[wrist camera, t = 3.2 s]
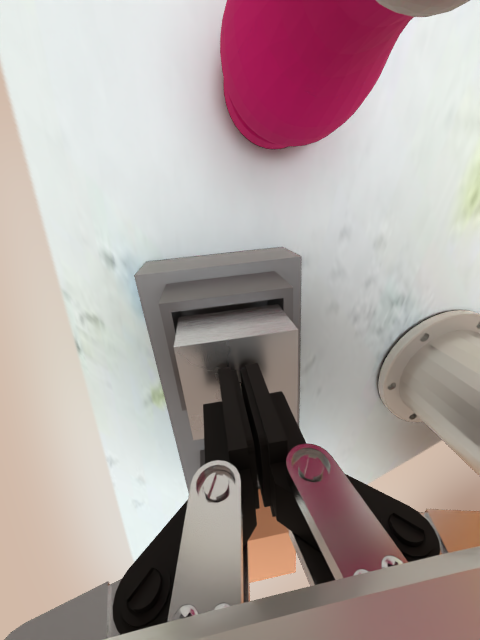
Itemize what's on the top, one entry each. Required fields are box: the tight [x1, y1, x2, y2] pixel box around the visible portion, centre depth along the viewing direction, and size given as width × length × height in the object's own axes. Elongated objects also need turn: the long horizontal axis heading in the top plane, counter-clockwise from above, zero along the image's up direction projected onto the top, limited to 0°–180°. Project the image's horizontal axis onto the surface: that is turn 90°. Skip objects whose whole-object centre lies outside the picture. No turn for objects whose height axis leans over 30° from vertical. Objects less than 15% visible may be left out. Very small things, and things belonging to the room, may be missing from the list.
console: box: [134, 247, 301, 492], centre depth 21 cm, size 22×10×8 cm, turn 5°
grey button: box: [174, 304, 298, 440], centre depth 13 cm, size 5×5×3 cm
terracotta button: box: [248, 489, 296, 583], centre depth 19 cm, size 5×5×3 cm
